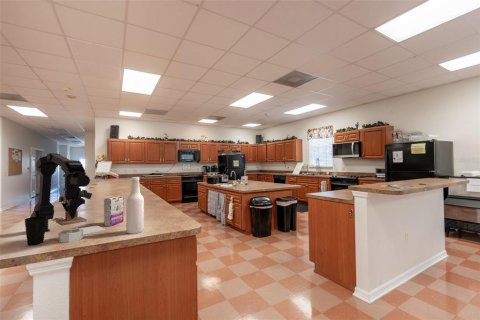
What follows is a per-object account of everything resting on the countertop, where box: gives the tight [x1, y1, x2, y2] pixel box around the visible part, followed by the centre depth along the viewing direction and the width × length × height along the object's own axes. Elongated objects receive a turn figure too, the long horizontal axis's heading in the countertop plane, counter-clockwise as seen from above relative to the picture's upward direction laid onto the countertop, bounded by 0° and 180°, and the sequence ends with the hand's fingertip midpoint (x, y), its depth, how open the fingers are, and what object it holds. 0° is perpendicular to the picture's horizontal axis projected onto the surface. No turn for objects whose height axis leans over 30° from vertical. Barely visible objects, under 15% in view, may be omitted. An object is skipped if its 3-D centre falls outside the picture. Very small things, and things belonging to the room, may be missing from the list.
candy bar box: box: [103, 195, 124, 227], centre depth 141 cm, size 11×5×16 cm, turn 168°
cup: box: [24, 216, 47, 247], centre depth 105 cm, size 8×8×12 cm
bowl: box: [57, 228, 84, 244], centre depth 111 cm, size 9×9×4 cm
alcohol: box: [125, 176, 145, 235], centre depth 124 cm, size 9×9×30 cm
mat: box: [78, 224, 107, 236], centre depth 126 cm, size 14×12×1 cm
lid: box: [55, 210, 88, 226], centre depth 111 cm, size 10×10×5 cm
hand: (71, 217), depth 111 cm, fingers closed on lid, 4 cm apart
